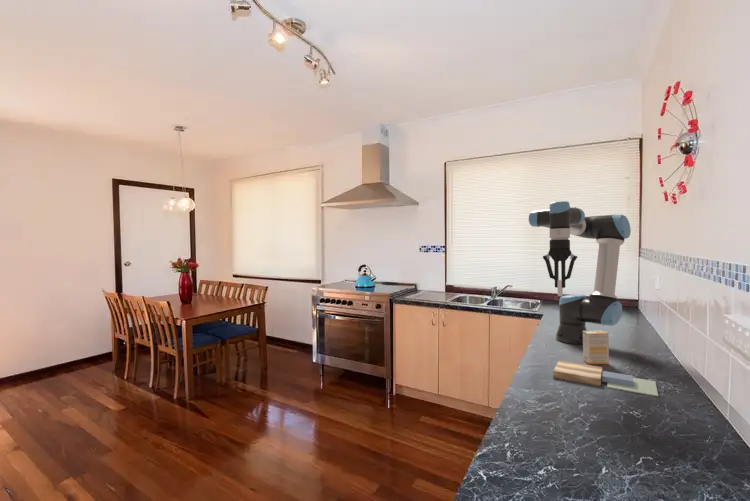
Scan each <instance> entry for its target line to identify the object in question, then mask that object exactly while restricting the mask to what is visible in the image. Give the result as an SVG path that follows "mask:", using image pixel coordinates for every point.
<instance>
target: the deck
mask: <svg viewBox="0 0 750 501" xmlns="http://www.w3.org/2000/svg"><path fill="white" fill-rule="evenodd" d="M602 375H603V367H602V366H598V365H592V364H583V363H577V362H572V361H564V360H558V362H557V363H556V365H555V367H554V369H553V370H552V378H553V379H559V380H563V379H565V381H569V382H570V381H571V382H576V383H581V384H586V385H592V386H597V387H601V384H602Z"/></svg>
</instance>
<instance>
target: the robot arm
mask: <svg viewBox="0 0 750 501" xmlns="http://www.w3.org/2000/svg"><path fill="white" fill-rule="evenodd" d="M528 222H529V225H530V226H531V227H534V228H536V227H537V228H539V227H543V228H547V229H548V228H549V239H550V240H549V250H548V253H547V254H546V255H543V256H542V259H543V260H544V262H545V264H546V269H547V272H548V276H549V279H552V280H554V288H557V297H559V304H558V306H559V308H558V310H559V312H558V313H559V315H558V316H559V324H558V326H557V327H558V328H557V331H556V333H555V340H557V341H559V342H561V343H564V344H565V343H566V344H571V345H583V331H588V329H587V327H586V323H589V324H595V325H602V326H609V327H610V326H611V327H614V326H616V325H617V324H618V323H619V322H620V321H621V318H622V315H623V305H622V303H621V302H620V301H619V297H617V296H616V286H617V276H618V266H619V256H620V250H621V249H620V248H621V246H622V245H624V244H625V239H626V240H627V239H628V238H630V236H631V229H632V228H631V225H630V221H629V219H628V217H627V216H626V215H624V214H608V215H607V214H605V215H591V216H590V215H589V216H586V214H585V212H584V210H582V209H581V208H578V207H571V205H570V202H569V201H564V200H563V201H560V200H559V201H553V202H550V203H549V209H542V210H541V209H540V210H539V209H537V210H532V211H531V212H530V213H529V214H528ZM571 235H572V236H574V237H575V236H576V237H580V238H583V239H584V238H585V239H591V240H594V239H595V242H596V243H597V244H598V251H597V252H598V253H597V259H596V267H595V268H596V270H595V278H594V286H593V291H592V293H590V294H589V296H588V297H589V298H587V296H586V295H585V294H569V295H563V294H564V293H563V289H565V288H566V280H569V279H571V276H572V272H573V270H574V265H575V261H576V260H577V259H578V255H575V254H574V253H572V251H571V240H570V238H571ZM569 257H570V258H569ZM550 258H551V259H552V261H553V265H554V266H553V267H552V265H551V261H550ZM568 259H569V260H570V262H569V266H568V270H567V273H566V262H567V260H568ZM559 263H560V266H559ZM559 267H560V268H561V276H559V274H560V273H559V270H560V269H559ZM553 269H554V271H553ZM560 277H561V279H560Z"/></svg>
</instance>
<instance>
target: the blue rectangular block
mask: <svg viewBox="0 0 750 501" xmlns="http://www.w3.org/2000/svg"><path fill="white" fill-rule="evenodd" d="M602 373H603V374H602V380H601V383H602V382H603V383H613V384H619V385H625V386H630V387H633V378H634V375H631V374H624V373H617V372H612V371H611V372H610V371H606V370H602Z"/></svg>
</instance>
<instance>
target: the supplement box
mask: <svg viewBox="0 0 750 501" xmlns="http://www.w3.org/2000/svg"><path fill="white" fill-rule="evenodd" d="M609 341H610V340H609V332H607V331H605V330H587V331H583V344H582V351H583V352H582V356H583V357H582V358H583V360H582V361H583V362H585V363H586V364H587V365H610V364H609V363H610V351H609Z"/></svg>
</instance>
